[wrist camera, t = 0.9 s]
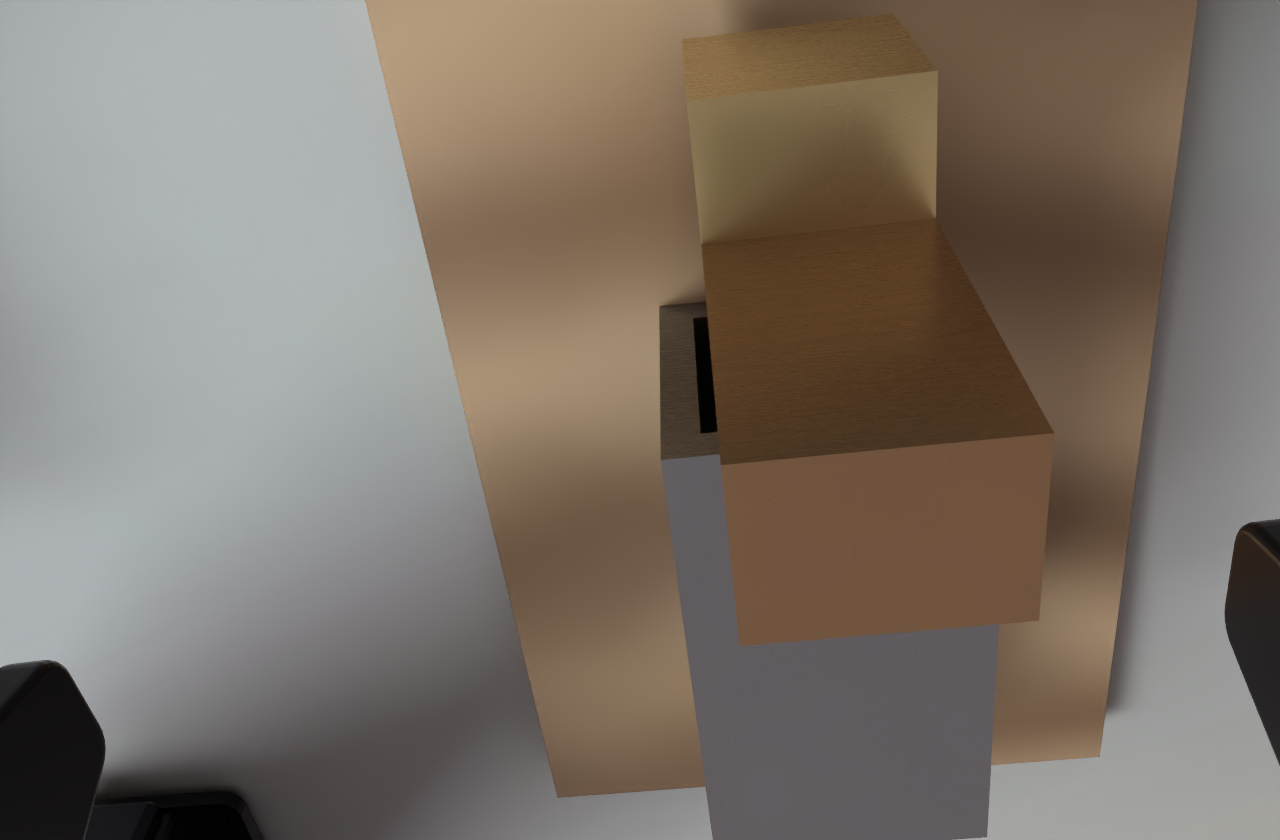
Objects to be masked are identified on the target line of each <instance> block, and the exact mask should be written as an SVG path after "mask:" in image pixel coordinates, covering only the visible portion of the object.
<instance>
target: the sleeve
mask: <svg viewBox="0 0 1280 840" xmlns="http://www.w3.org/2000/svg"><path fill="white" fill-rule="evenodd" d="M659 333H660V444H661V466H662V474H663V481H664V488H665V495H666V502H667V510H668V517H669V524H670V531H671V539H672V546H673V553H674V560H675V568H676V575H677V582H678V589H679V597H680V604H681V611H682V618H683V625H684V633H685V640H686V647H687V654H688V662H689V669H690V676H691V683H692V691H693V698H694V705H695V712H696V720H697V727H698V734H699V741H700V749H701V756H702V763H703V770H704V777H705V785H706V792H707V799H708V806H709V814H710V821H711V828H712V835H713V840H953V839H967V838H981V837H987V826H988V808H989V791H990V773H991V756H992V738H993V721H994V704H995V686H996V669H997V651H998V634H999V624H997V625H985V626H973V627H961V628H949V629H937V630H925V631H914V632H902V633H890V634H878V635H866V636H854V637H842V638H831V639H819V640H807V641H795V642H783V643H771V644H759V645H748V646H740V645H739V635H738V626H737V616H736V607H735V597H734V587H733V578H732V568H731V559H730V549H729V540H728V530H727V521H726V511H725V501H724V492H723V482H722V473H721V463H720V452H719V440H718V429H717V418H716V406H715V395H714V384H713V372H712V361H711V350H710V338H709V327H708V315H707V304H706V302H696V303H687V304H678V305H668V306H659Z"/></svg>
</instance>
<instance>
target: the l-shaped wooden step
mask: <svg viewBox="0 0 1280 840" xmlns="http://www.w3.org/2000/svg"><path fill="white" fill-rule="evenodd" d="M681 41H682V53H683V65H684V77H685V89H686V101H687V111H688V121H689V130H690V140H691V150H692V160H693V169H694V179H695V189H696V198H697V208H698V218H699V228H700V237H701V247H702V259H703V270H704V281H705V293H706V304H707V315H708V327H709V338H710V350H711V361H712V372H713V384H714V395H715V406H716V418H717V429H718V440H719V452H720V463H721V473H722V482H723V492H724V501H725V511H726V521H727V530H728V540H729V549H730V559H731V568H732V578H733V587H734V597H735V607H736V616H737V626H738V635H739V645H740V646H748V645H759V644H771V643H783V642H795V641H807V640H819V639H831V638H842V637H854V636H866V635H878V634H890V633H902V632H914V631H925V630H937V629H949V628H961V627H973V626H985V625H997V624H1008V623H1020V622H1032V621H1039V615H1040V602H1041V590H1042V578H1043V566H1044V554H1045V541H1046V529H1047V517H1048V505H1049V493H1050V480H1051V468H1052V456H1053V444H1054V432H1053V430H1052V428H1051V426H1050V424H1049V423H1048V421H1047V419H1046V417H1045V415H1044V413H1043V412H1042V410H1041V408H1040V406H1039V404H1038V403H1037V401H1036V399H1035V397H1034V395H1033V394H1032V392H1031V390H1030V388H1029V386H1028V384H1027V383H1026V381H1025V379H1024V377H1023V375H1022V374H1021V372H1020V370H1019V368H1018V366H1017V365H1016V363H1015V361H1014V359H1013V357H1012V355H1011V354H1010V352H1009V350H1008V348H1007V346H1006V345H1005V343H1004V341H1003V339H1002V337H1001V336H1000V334H999V332H998V330H997V328H996V326H995V325H994V323H993V321H992V319H991V317H990V316H989V314H988V312H987V310H986V308H985V307H984V305H983V303H982V301H981V299H980V298H979V296H978V294H977V292H976V290H975V288H974V287H973V285H972V283H971V281H970V279H969V278H968V276H967V274H966V272H965V270H964V269H963V267H962V265H961V263H960V261H959V259H958V258H957V256H956V254H955V252H954V250H953V249H952V247H951V245H950V243H949V241H948V240H947V238H946V236H945V234H944V232H943V230H942V229H941V227H940V225H939V223H938V221H937V220H936V168H937V99H938V70H937V69H936V68H935V66H934V65H933V64H932V62H931V61H930V60H929V59H928V57H927V56H926V55H925V54H924V52H923V51H922V50H921V48H920V47H919V46H918V45H917V43H916V42H915V41H914V39H913V38H912V37H911V36H910V34H909V33H908V32H907V31H906V29H905V28H904V27H903V25H902V24H901V23H900V22H899V20H898V19H897V18H896V16H895V15H894V14H893V13H890V14H882V15H874V16H866V17H858V18H850V19H842V20H834V21H826V22H818V23H810V24H802V25H794V26H786V27H778V28H770V29H761V30H753V31H745V32H737V33H729V34H721V35H713V36H705V37H697V38H689V39H681Z"/></svg>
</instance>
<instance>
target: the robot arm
mask: <svg viewBox="0 0 1280 840" xmlns="http://www.w3.org/2000/svg"><path fill="white" fill-rule="evenodd" d="M1225 623H1226V630H1227V634H1228V638H1229V641H1230V643H1231V646H1232V649H1233V651H1234V654H1235V656H1236V659H1237V661H1238V664H1239V666H1240V669H1241V671H1242V674H1243V676H1244V678H1245V681H1246V683H1247V686H1248V688H1249V691H1250V693H1251V696H1252V698H1253V701H1254V703H1255V706H1256V708H1257V711H1258V713H1259V716H1260V718H1261V721H1262V723H1263V726H1264V728H1265V731H1266V733H1267V736H1268V738H1269V741H1270V743H1271V746H1272V748H1273V751H1274V753H1275V755H1276V758H1277V760H1278V763H1279V765H1280V519H1276V520H1267V521H1258V522H1251V523H1248V524H1246V525H1244V526H1243V527H1242V528H1241V529H1240V530H1239V532H1238V534H1237V536H1236V540H1235V544H1234V550H1233V557H1232V564H1231V570H1230V577H1229V584H1228V590H1227V597H1226V603H1225ZM104 760H105V739H104V736H103V732H102V729H101V727H100V725H99V723H98V722H97V720H96V718H95V716H94V715H93V713H92V711H91V709H90V708H89V706H88V704H87V703H86V701H85V699H84V697H83V696H82V694H81V692H80V691H79V689H78V687H77V685H76V684H75V682H74V680H73V679H72V677H71V675H70V673H69V672H68V671H67V669H66V668H65V667H64V666H62V665H61V664H60V663H58V662H56V661H51V660H42V661H33V662H25V663H16V664H10V665H6V666H3V667H1V668H0V840H263V839H262V837H261V835H260V832H259V830H258V828H257V826H256V824H255V821H254V819H253V817H252V815H251V813H250V811H249V808H248V806H247V804H246V802H245V801H244V800H243V798H242V797H240V796H239V795H237V794H235V793H232V792H228V791H216V792H203V793H190V794H177V795H164V796H151V797H139V798H126V799H113V800H100V801H94V800H95V797H96V793H97V789H98V785H99V781H100V777H101V773H102V769H103V765H104Z"/></svg>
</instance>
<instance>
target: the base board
mask: <svg viewBox="0 0 1280 840" xmlns="http://www.w3.org/2000/svg"><path fill="white" fill-rule="evenodd" d="M365 2H366V6H367V10H368V15H369V19H370V23H371V27H372V31H373V35H374V39H375V44H376V48H377V52H378V56H379V60H380V64H381V68H382V72H383V77H384V81H385V85H386V89H387V93H388V97H389V101H390V106H391V110H392V114H393V118H394V122H395V126H396V130H397V134H398V139H399V143H400V147H401V151H402V155H403V159H404V163H405V168H406V172H407V176H408V180H409V184H410V188H411V192H412V197H413V201H414V205H415V209H416V213H417V217H418V221H419V225H420V230H421V234H422V238H423V242H424V246H425V250H426V254H427V259H428V263H429V267H430V271H431V275H432V279H433V283H434V287H435V292H436V296H437V300H438V304H439V308H440V312H441V316H442V321H443V325H444V329H445V333H446V337H447V341H448V345H449V350H450V354H451V358H452V362H453V366H454V370H455V374H456V378H457V383H458V387H459V391H460V395H461V399H462V403H463V407H464V412H465V416H466V420H467V424H468V428H469V432H470V436H471V440H472V445H473V449H474V453H475V457H476V461H477V465H478V469H479V474H480V478H481V482H482V486H483V490H484V494H485V498H486V502H487V507H488V511H489V515H490V519H491V523H492V527H493V531H494V536H495V540H496V544H497V548H498V552H499V556H500V560H501V565H502V569H503V573H504V577H505V581H506V585H507V589H508V593H509V598H510V602H511V606H512V610H513V614H514V618H515V622H516V627H517V631H518V635H519V639H520V643H521V647H522V651H523V655H524V660H525V664H526V668H527V672H528V676H529V680H530V684H531V689H532V693H533V697H534V701H535V705H536V709H537V713H538V718H539V722H540V726H541V730H542V734H543V738H544V742H545V746H546V751H547V755H548V759H549V763H550V767H551V771H552V775H553V780H554V784H555V788H556V792H557V796H558V798H559V797H572V796H586V795H599V794H612V793H625V792H639V791H652V790H665V789H679V788H692V787H705V786H706V785H705V777H704V770H703V763H702V756H701V749H700V741H699V734H698V727H697V720H696V712H695V705H694V698H693V691H692V683H691V676H690V669H689V662H688V654H687V647H686V640H685V633H684V625H683V618H682V611H681V604H680V597H679V589H678V582H677V575H676V568H675V560H674V553H673V546H672V539H671V531H670V524H669V517H668V510H667V502H666V495H665V488H664V481H663V474H662V466H661V444H660V333H659V306H668V305H678V304H687V303H696V302H706V293H705V281H704V270H703V259H702V247H701V237H700V228H699V218H698V208H697V198H696V189H695V179H694V169H693V160H692V150H691V140H690V130H689V121H688V111H687V101H686V89H685V77H684V65H683V53H682V41H681V39H689V38H697V37H705V36H713V35H721V34H729V33H737V32H745V31H753V30H761V29H770V28H778V27H786V26H794V25H802V24H810V23H818V22H826V21H834V20H842V19H850V18H858V17H866V16H874V15H882V14H890V13H893V14H894V15H895V16H896V18H897V19H898V20H899V22H900V23H901V24H902V25H903V27H904V28H905V29H906V31H907V32H908V33H909V34H910V36H911V37H912V38H913V39H914V41H915V42H916V43H917V45H918V46H919V47H920V48H921V50H922V51H923V52H924V54H925V55H926V56H927V57H928V59H929V60H930V61H931V62H932V64H933V65H934V66H935V68H936V69H937V70H938V99H937V168H936V220H937V221H938V223H939V225H940V227H941V229H942V230H943V232H944V234H945V236H946V238H947V240H948V241H949V243H950V245H951V247H952V249H953V250H954V252H955V254H956V256H957V258H958V259H959V261H960V263H961V265H962V267H963V269H964V270H965V272H966V274H967V276H968V278H969V279H970V281H971V283H972V285H973V287H974V288H975V290H976V292H977V294H978V296H979V298H980V299H981V301H982V303H983V305H984V307H985V308H986V310H987V312H988V314H989V316H990V317H991V319H992V321H993V323H994V325H995V326H996V328H997V330H998V332H999V334H1000V336H1001V337H1002V339H1003V341H1004V343H1005V345H1006V346H1007V348H1008V350H1009V352H1010V354H1011V355H1012V357H1013V359H1014V361H1015V363H1016V365H1017V366H1018V368H1019V370H1020V372H1021V374H1022V375H1023V377H1024V379H1025V381H1026V383H1027V384H1028V386H1029V388H1030V390H1031V392H1032V394H1033V395H1034V397H1035V399H1036V401H1037V403H1038V404H1039V406H1040V408H1041V410H1042V412H1043V413H1044V415H1045V417H1046V419H1047V421H1048V423H1049V424H1050V426H1051V428H1052V430H1053V432H1054V444H1053V456H1052V468H1051V480H1050V493H1049V505H1048V517H1047V529H1046V541H1045V554H1044V566H1043V578H1042V590H1041V602H1040V615H1039V621H1032V622H1020V623H1008V624H999V634H998V651H997V669H996V686H995V704H994V721H993V738H992V756H991V765H997V764H1010V763H1024V762H1037V761H1050V760H1063V759H1077V758H1090V757H1100V750H1101V742H1102V734H1103V727H1104V719H1105V711H1106V704H1107V696H1108V688H1109V681H1110V673H1111V665H1112V658H1113V650H1114V642H1115V635H1116V627H1117V619H1118V612H1119V604H1120V596H1121V589H1122V581H1123V573H1124V566H1125V558H1126V550H1127V542H1128V535H1129V527H1130V519H1131V512H1132V504H1133V496H1134V489H1135V481H1136V473H1137V466H1138V458H1139V450H1140V443H1141V435H1142V427H1143V420H1144V412H1145V404H1146V397H1147V389H1148V381H1149V374H1150V366H1151V358H1152V351H1153V343H1154V335H1155V328H1156V320H1157V312H1158V305H1159V297H1160V289H1161V282H1162V274H1163V266H1164V259H1165V251H1166V243H1167V236H1168V228H1169V220H1170V213H1171V205H1172V197H1173V189H1174V182H1175V174H1176V166H1177V159H1178V151H1179V143H1180V136H1181V128H1182V120H1183V113H1184V105H1185V97H1186V90H1187V82H1188V74H1189V67H1190V59H1191V51H1192V44H1193V36H1194V28H1195V21H1196V13H1197V5H1198V0H365Z"/></svg>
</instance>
